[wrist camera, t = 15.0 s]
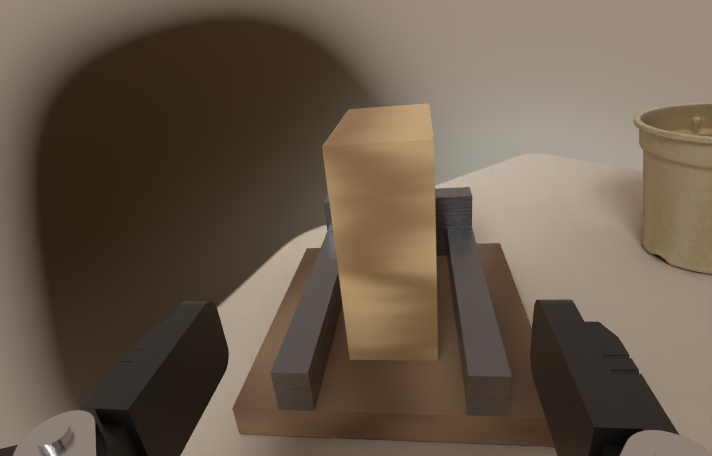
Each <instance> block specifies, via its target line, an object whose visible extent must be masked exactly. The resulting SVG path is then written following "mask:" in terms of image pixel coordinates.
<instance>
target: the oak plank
mask: <svg viewBox="0 0 712 456" xmlns="http://www.w3.org/2000/svg"><path fill="white" fill-rule="evenodd" d="M323 155H324V164H325V171H326V178H327V187H328V195H329V202H330V210H331V218H332V226H333V233H334V241H335V249H336V257H337V264H338V272H339V280H340V288H341V295H342V303H343V311H344V319H345V326H346V334H347V342H348V350H349V357H350V360H411V361H438V319H437V266H436V213H435V162H434V161H435V160H434V136H433V128H432V121H431V114H430V107H429V104H416V105H402V106H389V107H376V108H362V109H349V110H348V111H347V113H346V114H345V115H344V117H343V118H342V120H341V121H340V123H339V124H338V125H337V127H336V128H335V129H334V131H333V132H332V134H331V135H330V136H329V138H328V139H327V141H326V142H325V144H324V145H323Z"/></svg>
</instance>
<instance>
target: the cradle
mask: <svg viewBox="0 0 712 456" xmlns="http://www.w3.org/2000/svg"><path fill="white" fill-rule="evenodd" d="M324 208H325V216H326V223H327V230H328V232H327V234H326V236H325V239H324V241H323V244H322V246H321V248H307V249H306V251H305V254H304V256H303V258H302V260H301V262H300V264H299V267H298V269H297V271H296V273H295V275H294V277H293V279H292V282H291V284H290V286H289V288H288V290H287V292H286V294H285V297H284V299H283V301H282V303H281V305H280V307H279V310H278V312H277V314H276V316H275V318H274V320H273V322H272V325H271V327H270V329H269V331H268V333H267V335H266V338H265V340H264V342H263V344H262V346H261V348H260V350H259V353H258V355H257V357H256V359H255V361H254V363H253V366H252V368H251V370H250V372H249V374H248V376H247V378H246V381H245V383H244V385H243V387H242V389H241V391H240V393H239V396H238V398H237V400H236V402H235V404H234V406H233V412H234V416H235V419H236V422H237V426H238V429H239V433H240V434H250V435H276V436H302V437H327V438H353V439H379V440H405V441H430V442H456V443H482V444H507V445H533V446H554V443H553V440H552V436H551V433H550V430H549V427H548V424H547V421H546V418H545V415H544V411H543V408H542V405H541V402H540V399H539V396H538V393H537V389H536V386H535V383H534V380H533V376H532V371H531V364H530V347H531V336H532V329H531V326H530V323H529V321H528V318H527V315H526V312H525V310H524V307H523V304H522V302H521V299H520V296H519V294H518V291H517V288H516V286H515V283H514V280H513V277H512V275H511V272H510V269H509V267H508V264H507V261H506V259H505V256H504V253H503V251H502V248H501V245H500V243H493V244H476V241H475V237H474V234H473V230H472V194H471V191H470V188H469V187H465V188H443V189H435V213H436V266H437V319H438V361H411V360H350V357H349V350H348V342H347V334H346V326H345V319H344V311H343V303H342V295H341V288H340V280H339V272H338V264H337V257H336V249H335V241H334V233H333V226H332V218H331V210H330V202H329V195H327V197H326V199H325V201H324Z"/></svg>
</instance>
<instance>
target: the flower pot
mask: <svg viewBox="0 0 712 456" xmlns="http://www.w3.org/2000/svg"><path fill="white" fill-rule="evenodd" d="M634 124H635V126H636V127H638V128H639V144H640V146H641V148H642V149H643V230H642V243H643V246H644V248H645V249H646V250H647V251H648V252H649V253H650V254H657V255H659V256H661V257H662V258H663V259H665V260H666V261H667V262H668V263H669V264H670V265H673V266H676V267H679V268H683V269H686V270H691V271H696V272H702V273H709V274H712V102H704V103H701V102H700V103H686V104H676V105H668V106H661V107H656V108H651V109H647V110H644V111H641V112H639V113H638V114H636V115H635V117H634Z"/></svg>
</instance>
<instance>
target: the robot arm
mask: <svg viewBox="0 0 712 456" xmlns="http://www.w3.org/2000/svg"><path fill="white" fill-rule="evenodd" d="M228 356H229V353H228V346H227V342H226V339H225V335H224V332H223V328H222V325H221V321H220V317H219V314H218V310H217V307H216V305H215V304H214V303H213V302H182V303H181V304H180V305H179V306H178V307H177V308H176V309H175V311H174V312H173V313H172V314H171V316H170V317H169V318H168V319H167V320H166V321H162V322H161V323H159V324H158V325H156V326H155V327H153V328H152V329H151V330H149V331H148V332H146V333H145V334H144V335H143V336H142V337H141V338H140V340H139V341H138V342H137V343H136V344H135V345H134V347H133V348H132V351H131V352H128V354H127V355H126V356H125V357H124V358H123V359H122V361H121V364H118V365H117V367H116V368H115V369H114V370H113V371H112V372H111V374H110V375H109V376H108V377H107V378H106V379H105V381H104V382H103V383H102V384H101V385H100V387H99V388H98V389H97V390H96V391H95V392H94V393H93V395H92V396H91V397H90V398H89V399H88V400H87V402H86V403H85V404H84V405H83V407H81V409H80V410H76V411H69V412H65V413H62V414H59V415H56V416H54V417H52V418H50V419H48V420H46V421H45V422H43V423H42V424H40V425H38V426H37V427H36V428H34V429H33V430H32V431H31V432H29V434H27V435H26V436H25V437H24V439H23V440H22V441H21V442H20V443H19V445H16V446H11V447H7V448H3V449H0V456H180V455H181V453H182V451H183V449H184V448H185V446H186V444H187V442H188V440H189V438H190V436H191V435H192V433H193V431H194V429H195V427H196V425H197V423H198V422H199V420H200V418H201V416H202V414H203V412H204V410H205V409H206V407H207V405H208V403H209V401H210V399H211V397H212V396H213V394H214V392H215V390H216V388H217V386H218V384H219V383H220V381H221V379H222V377H223V375H224V373H225V371H226V368H227V365H228ZM530 364H531V371H532V376H533V380H534V383H535V386H536V389H537V393H538V396H539V399H540V402H541V405H542V408H543V411H544V415H545V418H546V421H547V424H548V427H549V430H550V433H551V436H552V440H553V443H554V446H555V449H556V452H557V455H558V456H712V454H711V453H709V452H708V451H707V450H705V449H704V448H703V447H701V446H700V445H698V444H696V443H695V442H693V441H691V440H689V439H687V438H685V437H682V436H680V435H679V434H678V432H677V431H676V429H675V427H674V426H673V424H672V423H671V421H670V419H669V418H668V416H667V415H666V413H665V411H664V410H663V408H662V407H661V405H660V403H659V402H658V400H657V399H656V397H655V395H654V394H653V392H652V391H651V389H650V387H649V386H648V384H647V383H646V381H645V379H644V378H643V376H642V375H641V374H639V370H638V368H637V367H636V365H635V363H634V362H633V360H632V359H630V358H629V354H628V352H627V350H626V349H625V347H624V346H623V344H622V342H621V341H620V339H619V338H618V337H617V336H616V335H615V334H614V333H612V332H611V331H610V330H608V329H607V328H606V327H605V326H603V325H602V324H601V323H600V322H584V320H583V319H582V317H581V315H580V313H579V311H578V309H577V308H576V306H575V304H574V302H573V301H572V300H536V302H535V306H534V314H533V325H532V336H531V347H530Z"/></svg>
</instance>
